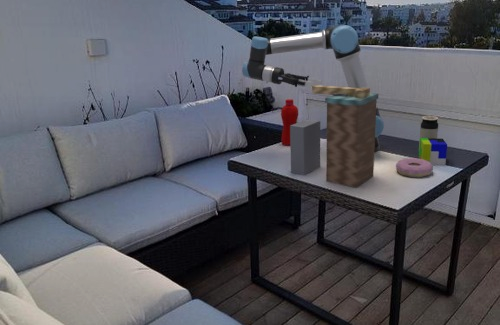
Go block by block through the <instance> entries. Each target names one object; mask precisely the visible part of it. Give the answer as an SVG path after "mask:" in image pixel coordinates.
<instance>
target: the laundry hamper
mask: <svg viewBox="0 0 500 325" xmlns="http://www.w3.org/2000/svg"><path fill="white" fill-rule="evenodd" d="M379 95H380V94H379V93H373V92H370V96H367V97H364V98H355V97H352V96H347V94H342V93H333V95H328V96H327V97H325V98H324V103H325V104H326V166H325V167H326V177H325V178H326V182H328V183H332V184H333V183H334V184H338V185H342V186H347V187H352V188H355V189H356V188H358V187H360V186H361V185H363V184H364V183H366V182H367V181H369V180H370V179H372V178H374V169H375V168H374V167H375V152H374V149H375V126H376V105H377V100H378V99H379Z"/></svg>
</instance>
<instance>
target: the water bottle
mask: <svg viewBox="0 0 500 325" xmlns="http://www.w3.org/2000/svg"><path fill="white" fill-rule="evenodd" d="M280 116H281V122H282V127H283V128H282V132H281V144H282V146H290V125H293V124H296V123H298V116H299V109H298V106H296V105H294V99H293V98H292V99H289V98H287V99H285V104H284V106H283V107H282V108H281V110H280ZM290 147H291V146H290Z"/></svg>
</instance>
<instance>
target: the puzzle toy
mask: <svg viewBox="0 0 500 325" xmlns="http://www.w3.org/2000/svg"><path fill="white" fill-rule="evenodd" d="M419 141H420V147H419V146H418V159H423V160H426V161H428V162H430V163H431V165H432V166H446V162H447V151H448V143H447V142H446V141H445V139H444V138H438V137H437V138H420V137H419Z"/></svg>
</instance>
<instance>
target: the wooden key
mask: <svg viewBox="0 0 500 325" xmlns="http://www.w3.org/2000/svg"><path fill="white" fill-rule="evenodd" d="M311 93H312V94H317V95H327V96H332V95H333V93H342V94H347V96H352V97H355V98H364V97H367V96H370V93H371V88H370V87H368V88H349V87H348V86H347V87H346V86H345V87H344V86H343V87H342V86H332V85H321V86H320V85H313V86H312V89H311Z"/></svg>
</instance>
